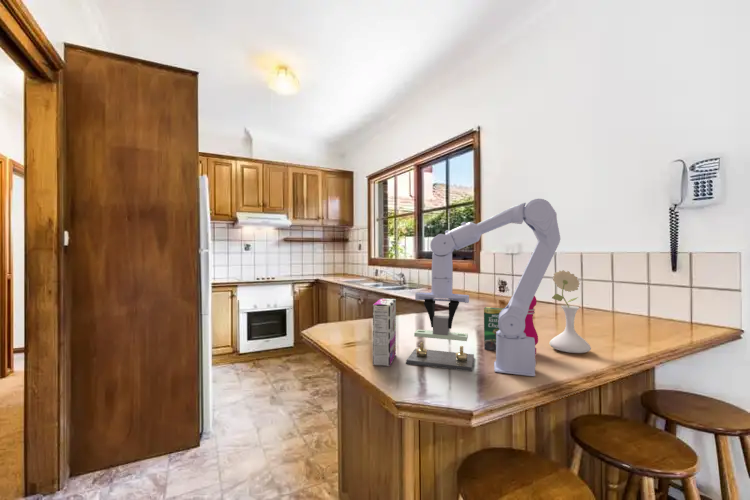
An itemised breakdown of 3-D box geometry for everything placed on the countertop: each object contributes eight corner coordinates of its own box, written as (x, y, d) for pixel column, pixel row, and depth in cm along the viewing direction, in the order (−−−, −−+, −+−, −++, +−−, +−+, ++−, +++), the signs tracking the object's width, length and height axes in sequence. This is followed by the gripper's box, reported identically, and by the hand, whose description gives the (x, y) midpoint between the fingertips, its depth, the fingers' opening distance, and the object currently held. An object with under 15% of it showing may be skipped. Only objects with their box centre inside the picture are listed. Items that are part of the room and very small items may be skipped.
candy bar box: (379, 353, 104) (380, 298, 104) (396, 354, 103) (396, 298, 103) (371, 365, 93) (372, 303, 93) (390, 367, 92) (390, 304, 92)
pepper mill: (543, 356, 104) (543, 288, 104) (519, 356, 103) (520, 288, 103) (530, 349, 111) (531, 285, 111) (508, 349, 110) (508, 285, 110)
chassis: (473, 357, 101) (474, 342, 101) (471, 371, 90) (471, 353, 90) (415, 351, 106) (415, 336, 106) (406, 363, 95) (406, 347, 95)
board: (467, 337, 97) (468, 317, 98) (466, 341, 93) (467, 320, 93) (417, 332, 102) (418, 313, 102) (414, 336, 97) (414, 316, 97)
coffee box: (482, 349, 110) (483, 307, 110) (484, 347, 113) (485, 306, 113) (510, 353, 106) (510, 309, 106) (511, 351, 109) (512, 308, 109)
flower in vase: (600, 355, 105) (601, 271, 106) (568, 357, 103) (569, 271, 103) (566, 343, 118) (567, 269, 118) (537, 345, 115) (538, 269, 115)
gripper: (413, 278, 96) (412, 328, 96) (468, 280, 91) (467, 332, 91) (418, 276, 103) (417, 323, 103) (469, 278, 98) (469, 327, 98)
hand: (441, 327), depth 98 cm, fingers closed on board, 4 cm apart
